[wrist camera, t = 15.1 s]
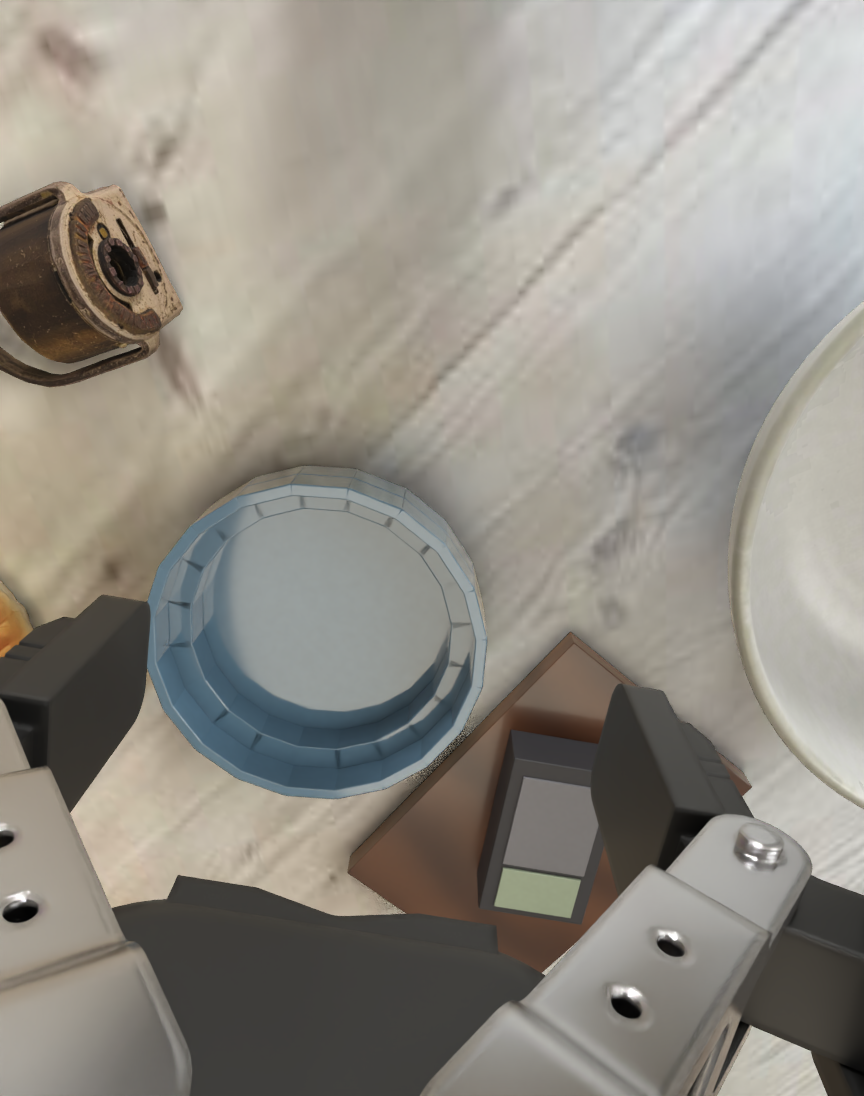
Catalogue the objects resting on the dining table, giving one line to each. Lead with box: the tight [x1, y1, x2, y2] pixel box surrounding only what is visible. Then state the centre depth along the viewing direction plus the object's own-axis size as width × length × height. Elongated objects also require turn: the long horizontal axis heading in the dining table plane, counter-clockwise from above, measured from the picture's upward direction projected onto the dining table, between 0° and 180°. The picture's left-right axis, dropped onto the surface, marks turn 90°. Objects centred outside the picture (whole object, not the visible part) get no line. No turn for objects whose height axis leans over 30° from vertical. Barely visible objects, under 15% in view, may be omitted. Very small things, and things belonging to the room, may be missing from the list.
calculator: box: [477, 730, 604, 925], centre depth 47 cm, size 10×6×3 cm, turn 170°
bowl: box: [147, 465, 487, 799], centre depth 44 cm, size 17×17×5 cm
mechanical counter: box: [0, 182, 183, 387], centre depth 38 cm, size 7×13×10 cm
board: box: [348, 632, 752, 973], centre depth 49 cm, size 20×14×2 cm
